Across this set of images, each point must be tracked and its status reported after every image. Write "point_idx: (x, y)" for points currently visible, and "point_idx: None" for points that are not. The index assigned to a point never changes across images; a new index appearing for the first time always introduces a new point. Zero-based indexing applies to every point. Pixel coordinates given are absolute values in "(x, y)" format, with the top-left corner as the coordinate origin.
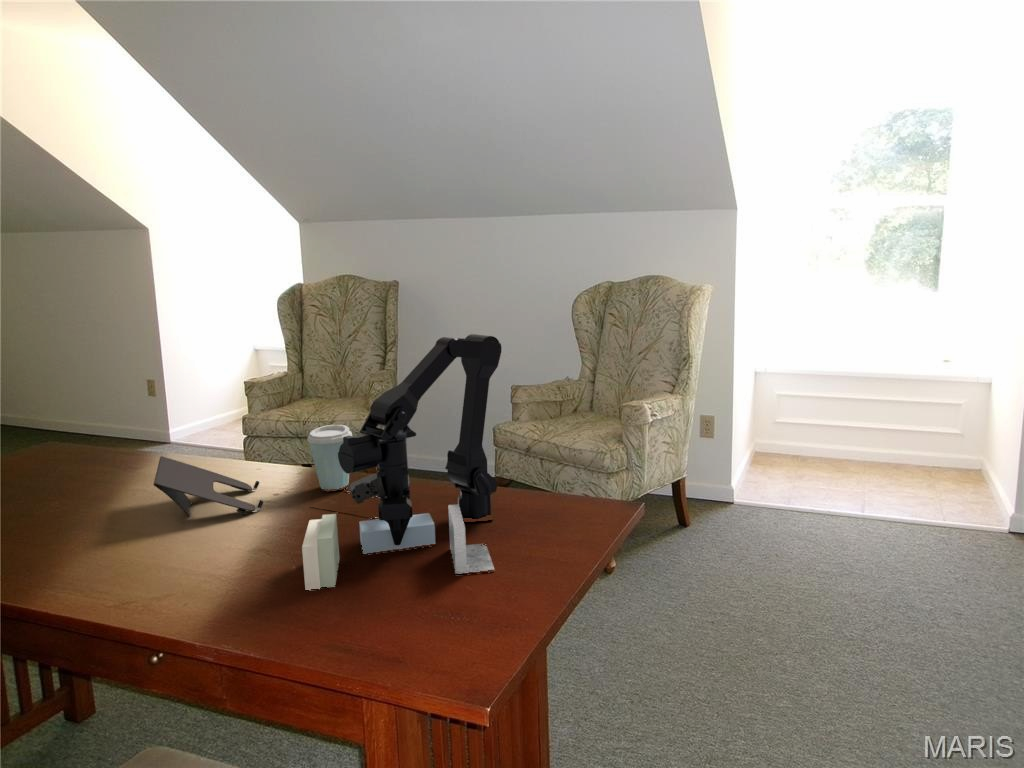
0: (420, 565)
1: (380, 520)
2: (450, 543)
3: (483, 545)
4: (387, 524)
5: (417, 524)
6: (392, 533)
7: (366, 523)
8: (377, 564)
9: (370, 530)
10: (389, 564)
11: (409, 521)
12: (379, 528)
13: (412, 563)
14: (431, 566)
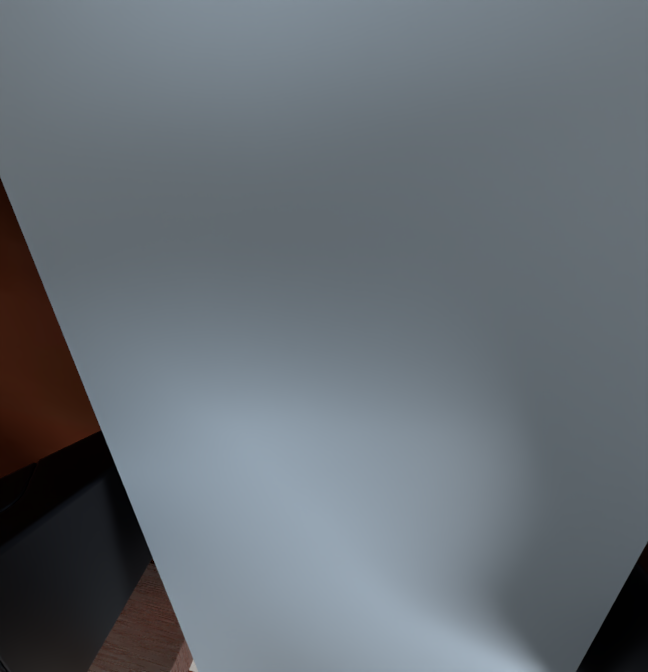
0: (25, 430)
1: (588, 446)
2: (137, 621)
3: (193, 666)
4: (319, 487)
5: (235, 670)
6: (71, 454)
7: (574, 117)
8: (3, 188)
9: (79, 190)
10: (15, 277)
11: (339, 663)
12: (167, 359)
13: (45, 403)
14: (20, 466)
